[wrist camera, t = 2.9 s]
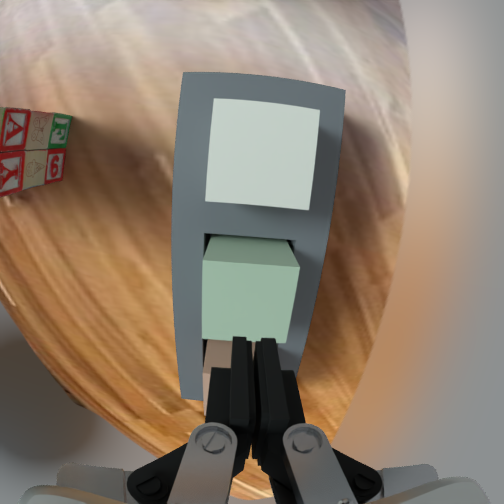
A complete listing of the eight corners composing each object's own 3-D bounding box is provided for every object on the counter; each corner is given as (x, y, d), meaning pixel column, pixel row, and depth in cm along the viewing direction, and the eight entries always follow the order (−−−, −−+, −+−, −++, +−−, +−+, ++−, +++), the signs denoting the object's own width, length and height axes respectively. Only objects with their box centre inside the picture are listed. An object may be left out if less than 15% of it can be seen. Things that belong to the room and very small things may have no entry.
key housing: (196, 90, 18) (181, 69, 13) (323, 103, 19) (348, 88, 13) (188, 363, 27) (180, 403, 21) (282, 369, 27) (289, 408, 22)
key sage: (212, 233, 18) (202, 260, 14) (285, 238, 19) (299, 267, 14) (209, 297, 20) (201, 338, 15) (276, 302, 20) (285, 343, 16)
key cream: (221, 114, 16) (213, 98, 11) (298, 121, 16) (319, 110, 11) (215, 188, 17) (205, 201, 13) (291, 195, 18) (308, 210, 13)
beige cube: (209, 329, 21) (202, 373, 16) (271, 333, 21) (278, 377, 17) (209, 372, 23) (204, 415, 18) (264, 375, 23) (268, 418, 18)
